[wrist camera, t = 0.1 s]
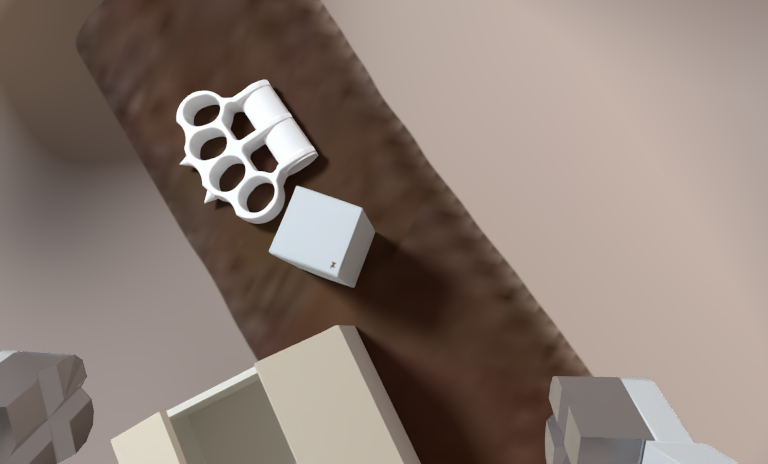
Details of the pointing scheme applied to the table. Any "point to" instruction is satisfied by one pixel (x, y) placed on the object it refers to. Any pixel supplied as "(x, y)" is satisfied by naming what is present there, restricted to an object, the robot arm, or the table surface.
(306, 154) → the knuckle duster
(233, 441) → the carton
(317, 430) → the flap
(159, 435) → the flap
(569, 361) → the table surface
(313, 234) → the supplement box
